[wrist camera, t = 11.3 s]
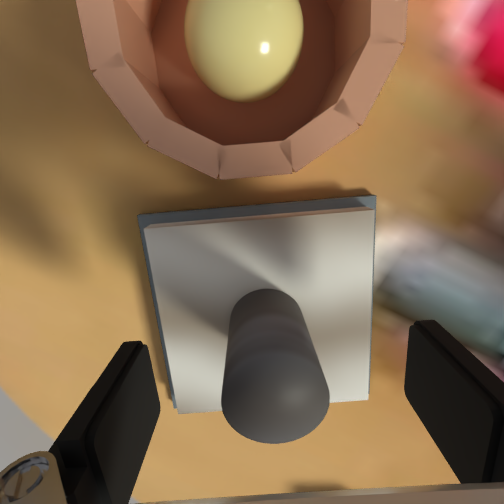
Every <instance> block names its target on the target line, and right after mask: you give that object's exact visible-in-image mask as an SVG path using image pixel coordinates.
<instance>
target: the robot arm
mask: <svg viewBox="0 0 504 504" xmlns="http://www.w3.org/2000/svg"><path fill="white" fill-rule="evenodd" d="M404 390H405V395H406V397H407V399H408V401H409V402H410V404H411V406H412V407H413V409H414V410H415V412H416V413H417V415H418V417H419V418H420V420H421V421H422V423H423V424H424V426H425V428H426V429H427V431H428V432H429V434H430V435H431V437H432V439H433V440H434V442H435V443H436V445H437V446H438V448H439V450H440V451H441V453H442V454H443V456H444V457H445V459H446V461H447V462H448V464H449V465H450V467H451V468H452V470H453V472H454V473H455V475H456V476H457V478H458V479H459V481H460V483H461V484H442V485H423V486H405V487H386V488H367V489H350V490H333V491H316V492H299V493H282V494H266V495H250V496H234V497H219V498H204V499H189V500H174V501H160V502H148V503H137V504H504V382H503V381H502V380H500V379H499V378H498V377H497V376H496V375H495V374H494V373H493V372H492V371H491V370H489V369H488V368H487V367H486V366H485V365H484V364H483V363H482V362H481V361H479V360H478V359H477V358H476V357H475V356H474V355H473V354H472V353H471V352H470V351H468V350H467V349H466V348H465V347H464V346H463V345H462V344H461V343H460V342H458V341H457V340H456V339H455V338H454V337H453V336H452V335H451V334H450V333H448V332H447V331H446V330H445V329H444V328H443V327H442V326H441V325H440V324H439V323H437V322H436V321H435V320H421V321H416V322H415V323H414V325H412V326H410V328H409V338H408V350H407V361H406V373H405V384H404ZM159 414H160V401H159V397H158V392H157V387H156V383H155V378H154V373H153V369H152V364H151V360H150V355H149V350H148V346H147V345H146V344H145V345H143V343H142V342H141V341H129V342H123V344H122V345H121V346H120V348H119V349H118V351H117V352H116V354H115V355H114V357H113V358H112V360H111V361H110V362H109V364H108V365H107V367H106V368H105V370H104V371H103V373H102V374H101V376H100V377H99V379H98V380H97V382H96V383H95V384H94V385H93V387H92V388H91V389H90V391H89V392H88V394H87V395H86V397H85V398H84V400H83V401H82V403H81V404H80V405H79V407H78V408H77V410H76V411H75V413H74V414H73V416H72V417H71V419H70V420H69V422H68V423H67V424H66V426H65V427H64V429H63V430H62V432H61V433H60V435H59V436H58V438H57V439H56V441H55V442H54V443H53V445H52V446H51V448H50V449H49V451H38V452H34V453H30V454H28V455H25V456H23V457H21V458H19V459H18V460H16V461H15V462H13V463H11V464H10V465H8V466H7V467H6V468H5V469H4V470H2V471H1V472H0V504H128V502H129V500H130V497H131V494H132V491H133V488H134V486H135V483H136V480H137V477H138V474H139V471H140V469H141V466H142V463H143V460H144V457H145V454H146V451H147V449H148V446H149V443H150V440H151V437H152V434H153V432H154V429H155V426H156V423H157V420H158V417H159Z"/></svg>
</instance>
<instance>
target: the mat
mask: <svg viewBox="0 0 504 504" xmlns="http://www.w3.org/2000/svg"><path fill="white" fill-rule="evenodd" d="M354 207H369V208H371V209H374V210H375V217H374V246H373V274H372V303H371V332H372V304H373V276H374V248H375V220H376V196H375V195H365V196H353V197H341V198H329V199H317V200H305V201H292V202H280V203H268V204H256V205H244V206H232V207H220V208H208V209H196V210H184V211H172V212H160V213H148V214H139V215H137V217H138V223H139V228H140V233H141V238H142V244H143V249H144V254H145V259H146V265H147V270H148V275H149V280H150V286H151V291H152V296H153V301H154V307H155V312H156V317H157V322H158V328H159V333H160V338H161V343H162V349H163V354H164V359H165V364H166V369H167V375H168V380H169V385H170V390H171V396H172V401H173V406H174V408H177V405H176V400H175V394H174V389H173V383H172V378H171V373H170V367H169V362H168V357H167V351H166V346H165V341H164V335H163V330H162V325H161V319H160V314H159V309H158V303H157V298H156V293H155V287H154V282H153V277H152V271H151V266H150V261H149V255H148V250H147V245H146V239H145V234H144V228H146V227H147V226H149V225H150V224H160V223H172V222H184V221H196V220H208V219H220V218H233V217H245V216H257V215H269V214H281V213H293V212H305V211H317V210H329V209H341V208H354ZM371 332H370V359H371ZM369 387H370V361H369ZM368 394H369V390H368Z"/></svg>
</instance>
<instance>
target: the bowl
mask: <svg viewBox="0 0 504 504" xmlns="http://www.w3.org/2000/svg"><path fill="white" fill-rule="evenodd" d="M76 4H77V9H78V14H79V19H80V24H81V29H82V33H83V38H84V43H85V48H86V53H87V58H88V62H89V67H90V70H91V71H93V73H92V75H93V76H94V77H95V79H96V80H97V81H98V83H99V84H100V85H101V87H102V88H103V89H104V91H105V92H106V93H107V95H108V96H109V97H110V99H111V100H112V101H113V103H114V104H115V105H116V107H117V108H118V109H119V111H120V112H121V113H122V115H123V116H124V117H125V119H126V120H127V121H128V123H129V124H130V125H131V127H132V128H133V129H134V131H135V132H136V133H137V135H138V136H139V137H140V139H141V140H142V141H143V143H144V144H148V145H147V146H148V147H150V148H152V149H154V150H156V151H158V152H160V153H163V154H165V155H167V156H169V157H171V158H173V159H175V160H177V161H179V162H181V163H183V164H186V165H188V166H190V167H192V168H194V169H196V170H198V171H200V172H202V173H204V174H207V175H209V176H211V177H213V178H215V179H217V178H220V180H223V179H235V178H247V177H259V176H271V175H283V174H292V172H295V173H296V172H297V171H298V170H300V169H301V168H303V167H304V166H306V165H307V164H309V163H310V162H311V161H313V160H314V159H316V158H317V157H319V156H320V155H322V154H323V153H324V152H326V151H327V150H329V149H330V148H332V147H333V146H334V145H336V144H337V143H339V142H340V141H342V140H343V139H345V138H346V137H347V136H349V135H350V134H352V133H353V132H355V131H356V130H357V129H359V126H361V125H362V124H363V123H364V121H365V119H366V117H367V115H368V113H369V111H370V109H371V108H372V106H373V104H374V102H375V100H376V98H377V96H378V95H379V93H380V91H381V89H382V87H383V85H384V83H385V81H386V80H387V78H388V76H389V74H390V72H391V70H392V68H393V66H394V65H395V63H396V61H397V59H398V57H399V55H400V53H401V52H402V50H403V48H404V46H403V45H402V44H403V43H405V42H406V25H407V7H408V0H76Z"/></svg>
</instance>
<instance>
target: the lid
mask: <svg viewBox="0 0 504 504" xmlns="http://www.w3.org/2000/svg"><path fill="white" fill-rule="evenodd" d="M374 217H375V210H374V209H371V208H369V207H354V208H341V209H329V210H317V211H305V212H293V213H281V214H269V215H257V216H245V217H233V218H220V219H208V220H196V221H184V222H172V223H160V224H150V225H149V226H147V227H146V228H144V234H145V239H146V245H147V250H148V255H149V261H150V266H151V271H152V277H153V282H154V287H155V293H156V298H157V303H158V309H159V314H160V319H161V325H162V330H163V335H164V341H165V346H166V351H167V357H168V362H169V367H170V373H171V378H172V383H173V389H174V394H175V400H176V405H177V410H178V414H186V413H200V412H213V411H223V414H224V416H225V418H226V420H227V422H228V423H229V424H230V425H231V427H232V428H233V429H234V430H235V431H237V432H238V433H239V434H241V435H243V436H244V437H246V438H249V439H251V440H254V441H257V442H262V443H270V444H279V443H286V442H290V441H294V440H297V439H299V438H301V437H303V436H305V435H307V434H309V433H310V432H311V431H313V430H314V429H315V428H316V427H317V426H318V425H319V424H320V423H321V421H322V420H323V419H324V417H325V415H326V413H327V410H328V407H329V403H332V402H345V401H358V400H368V390H369V361H370V332H371V303H372V274H373V246H374Z"/></svg>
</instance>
